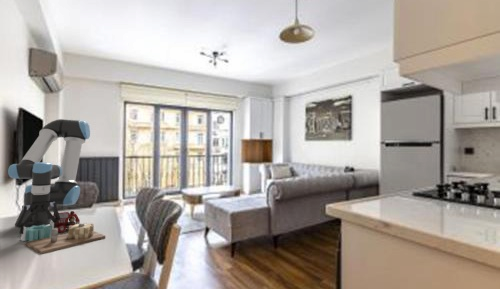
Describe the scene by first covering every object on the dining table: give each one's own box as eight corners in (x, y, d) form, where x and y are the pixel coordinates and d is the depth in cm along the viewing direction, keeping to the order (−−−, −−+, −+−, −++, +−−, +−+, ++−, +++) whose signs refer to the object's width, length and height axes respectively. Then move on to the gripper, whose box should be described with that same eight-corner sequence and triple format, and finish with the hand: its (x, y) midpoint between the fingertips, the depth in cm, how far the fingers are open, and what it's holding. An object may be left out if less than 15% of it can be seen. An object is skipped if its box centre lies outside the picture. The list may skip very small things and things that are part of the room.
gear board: (25, 244, 125) (26, 229, 125) (88, 231, 149) (89, 218, 149) (41, 253, 116) (42, 237, 116) (105, 238, 140) (106, 224, 140)
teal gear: (19, 238, 133) (20, 228, 133) (45, 233, 142) (46, 223, 142) (28, 243, 127) (29, 232, 127) (55, 237, 136) (55, 227, 136)
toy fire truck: (80, 230, 150) (81, 211, 150) (53, 234, 141) (54, 214, 141) (77, 227, 155) (78, 209, 155) (51, 231, 146) (52, 211, 146)
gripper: (13, 197, 123) (10, 245, 123) (70, 192, 143) (67, 233, 142) (7, 195, 127) (4, 241, 127) (63, 190, 147) (60, 230, 146)
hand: (37, 237), depth 134 cm, fingers closed on teal gear, 11 cm apart
